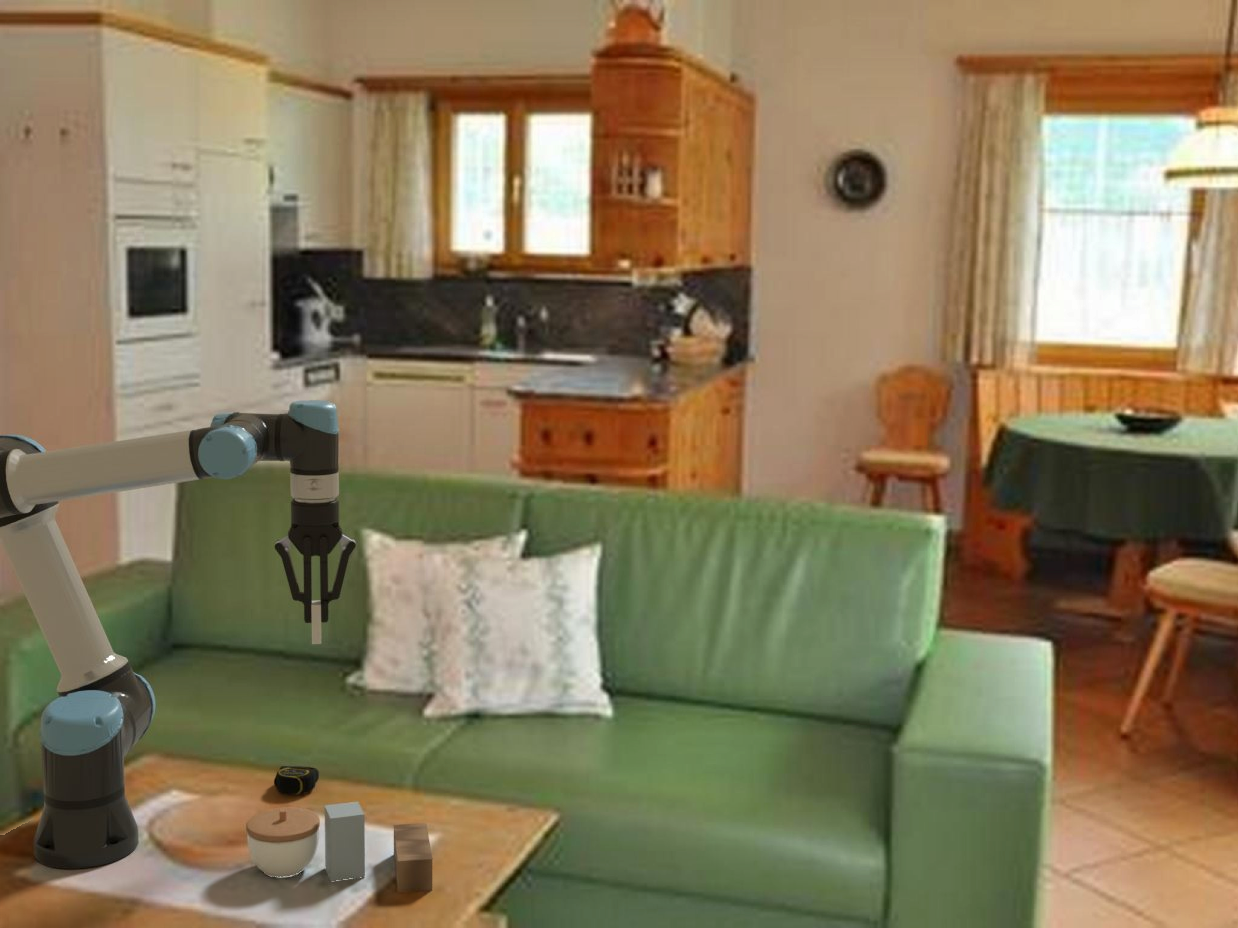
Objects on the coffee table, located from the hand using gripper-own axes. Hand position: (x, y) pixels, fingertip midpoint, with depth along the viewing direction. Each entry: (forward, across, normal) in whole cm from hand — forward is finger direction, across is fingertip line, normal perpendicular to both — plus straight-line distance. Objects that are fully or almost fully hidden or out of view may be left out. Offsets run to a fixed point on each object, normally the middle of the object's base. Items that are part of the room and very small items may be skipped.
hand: (316, 641), depth 228 cm
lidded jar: (+30, -5, -20) cm, 36 cm away
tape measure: (+30, -4, +11) cm, 32 cm away
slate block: (+29, +4, -22) cm, 37 cm away
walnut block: (+27, +14, -17) cm, 35 cm away
